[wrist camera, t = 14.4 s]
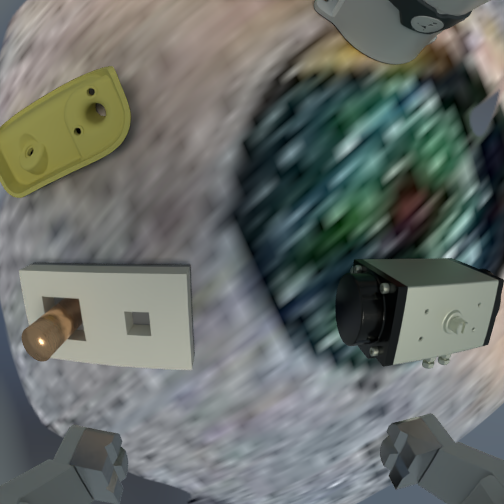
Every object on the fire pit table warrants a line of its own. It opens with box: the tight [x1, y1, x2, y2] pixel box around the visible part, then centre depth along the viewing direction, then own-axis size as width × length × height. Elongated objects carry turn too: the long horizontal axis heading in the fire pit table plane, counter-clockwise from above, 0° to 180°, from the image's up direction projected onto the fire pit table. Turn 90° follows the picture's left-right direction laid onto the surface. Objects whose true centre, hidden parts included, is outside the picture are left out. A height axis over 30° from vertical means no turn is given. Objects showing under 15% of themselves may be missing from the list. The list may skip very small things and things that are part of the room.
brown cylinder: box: [22, 298, 83, 361], centre depth 31 cm, size 4×4×10 cm
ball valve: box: [336, 258, 504, 369], centre depth 31 cm, size 18×8×18 cm, turn 89°
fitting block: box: [19, 263, 195, 370], centre depth 36 cm, size 22×12×4 cm, turn 89°
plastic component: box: [0, 66, 131, 198], centre depth 31 cm, size 20×7×10 cm
